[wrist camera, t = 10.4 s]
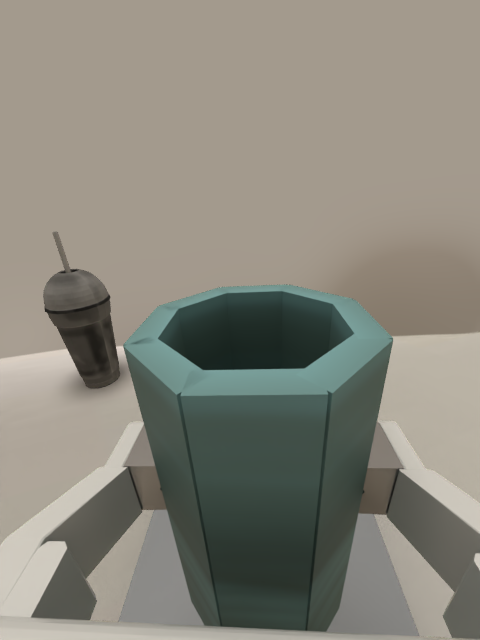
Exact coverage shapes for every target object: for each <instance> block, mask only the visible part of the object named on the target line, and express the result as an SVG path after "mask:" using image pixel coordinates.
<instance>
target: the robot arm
mask: <svg viewBox="0 0 480 640" xmlns="http://www.w3.org/2000/svg"><path fill="white" fill-rule="evenodd" d="M142 510H167V508H166V504H165V501H164V497H163V493H162V489H161V486H160V482H159V478H158V474H157V471H156V467H155V463H154V459H153V456H152V452H151V448H150V444H149V441H148V437H147V433H146V429H145V426H144V422H133V421H132V422H131V423H130V424H128V425H127V427H126V429H125V431H124V432H123V434H122V436H121V438H120V440H119V441H118V443H117V445H116V447H115V448H114V450H113V452H112V454H111V455H110V457H109V459H108V461H107V462H106V464H105V466H104V467H98V468H97V469H96V470H94V471H93V472H92V473H91V474H89V475H88V476H87V477H85V478H84V479H83V480H81V481H80V482H79V483H77V484H76V485H75V486H73V487H72V488H71V489H70V490H68V491H67V492H66V493H64V494H63V495H62V496H60V497H59V498H58V499H56V500H55V501H54V502H52V503H51V504H50V505H49V506H47V507H46V508H45V509H43V510H42V511H41V512H39V513H38V514H37V515H35V516H34V517H33V518H31V519H30V520H29V521H27V522H26V523H25V524H24V525H22V526H21V527H20V528H18V529H17V530H16V531H14V532H13V533H12V534H10V535H9V536H8V537H6V539H5V540H4V541H3V543H2V544H1V545H0V640H480V503H479V502H478V501H476V500H475V499H474V498H472V497H471V496H469V495H468V494H466V493H465V492H464V491H462V490H461V489H459V488H458V487H456V486H455V485H454V484H452V483H451V482H449V481H448V480H447V479H445V478H444V477H442V476H441V475H439V474H438V473H437V472H435V471H434V470H427V469H426V467H425V466H424V464H423V463H422V461H421V460H420V458H419V457H418V455H417V453H416V452H415V450H414V449H413V447H412V446H411V444H410V443H409V441H408V439H407V438H406V436H405V435H404V433H403V432H402V430H401V429H400V427H399V425H398V424H397V423H396V422H395V421H377V423H376V428H375V433H374V438H373V443H372V448H371V453H370V458H369V463H368V468H367V473H366V478H365V483H364V488H363V493H362V498H361V503H360V508H359V513H360V514H381V515H387V518H388V519H389V520H390V521H391V522H392V523H393V524H394V525H395V526H396V528H397V529H398V530H399V531H400V532H401V533H402V534H403V535H404V536H405V537H406V539H407V540H408V541H409V542H410V543H411V544H412V545H413V546H414V547H415V549H416V550H417V551H418V552H419V553H420V554H421V555H422V556H423V557H424V559H425V560H426V561H427V562H428V563H429V564H430V565H431V566H432V567H433V569H434V570H435V571H436V572H437V573H438V574H439V575H440V576H441V577H442V579H443V580H444V581H445V582H446V583H447V584H448V585H449V586H450V587H451V589H452V590H453V591H454V592H455V593H454V595H453V596H452V598H451V600H450V602H449V604H448V606H447V608H446V610H445V612H444V615H443V618H444V620H445V622H446V625H447V627H448V629H449V631H450V634H451V636H452V638H442V637H422V636H402V635H381V634H361V633H341V632H321V631H300V630H280V629H259V628H239V627H218V626H198V625H178V624H157V623H137V622H116V621H96V620H90V618H91V615H92V613H93V610H94V607H95V605H96V602H97V600H96V596H95V594H94V592H93V590H92V588H91V587H90V585H89V583H88V581H87V580H86V578H87V577H88V576H89V574H90V573H91V572H92V571H93V570H94V568H95V567H96V566H97V565H98V564H99V563H100V561H101V560H102V559H103V558H104V557H105V555H106V554H107V553H108V552H109V551H110V549H111V548H112V547H113V546H114V545H115V544H116V542H117V541H118V540H119V539H120V538H121V536H122V535H123V534H124V533H125V532H126V531H127V529H128V528H129V527H130V526H131V525H132V523H133V522H134V521H135V520H136V519H137V517H138V516H139V515H140V514H141V513H142Z"/></svg>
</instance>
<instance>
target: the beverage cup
mask: <svg viewBox="0 0 480 640" xmlns="http://www.w3.org/2000/svg"><path fill="white" fill-rule="evenodd" d="M53 236H54V239H55V242H56V245H57V248H58V251H59V254H60V256H61V260H62V262H63V265H64V268H65V270H64V271H61V272H58V273H57V274H55V275H54V276H53V277H52V278H50V280H49V281H48V282H47V284H46V286H45V289H44V294H43V297H44V304H45V312H47V313H48V315H49V318H50V319H51V321H52V322H53V324H54V325H55V326H56V327H57V329H58V331H59V333H60V335H61V337H62V339H63V341H64V343H65V345H66V347H67V349H68V351H69V353H70V355H71V357H72V359H73V361H74V363H75V365H76V367H77V369H78V371H79V374H80V376H81V377H82V378H83V380H84V382H85V384H86V386H87V387H89V388H100V387H104V386H107V385H109V384H111V383H113V382H114V381H116V380H117V379H118V377H119V376H120V372H119V362H118V356H117V350H116V345H115V339H114V333H113V327H112V322H111V316H110V312H111V308H110V295H109V294H108V292H107V290H106V288H105V286H104V285H103V283H102V282H101V281H100V280H99V279H98V278H97V277H96V276H94V275H93V274H91V273H89V272H87V271H84V270H79V269H70V267H69V264H68V261H67V259H66V255H65V252H64V249H63V246H62V244H61V241H60V237H59V235H58V232H53Z"/></svg>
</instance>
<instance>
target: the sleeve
mask: <svg viewBox="0 0 480 640" xmlns="http://www.w3.org/2000/svg"><path fill="white" fill-rule="evenodd" d="M392 343H393V338H392V337H391V336H390V335H389V334H388V333H387V332H386V331H385V330H384V329H383V328H382V327H381V326H380V324H379V323H378V322H376V321H375V319H374V318H373V317H372V316H371V315H370V314H369V313H368V312H367V311H366V310H364V308H363V307H362V306H361V305H360V304H359V303H358V302H357V301H356V300H353V299H351V298H346V297H341V296H338V295H333V294H328V293H324V292H319V291H315V290H311V289H306V288H302V287H298V286H293V285H263V286H237V287H221V288H220V287H219V288H216V289H213V290H209V291H206V292H203V293H200V294H196V295H193V296H190V297H186V298H183V299H180V300H177V301H173V302H170V303H167V304H163V305H160V306H159V307H157V308H156V309H155V310H154V311H153V312H152V313H151V315H150V316H149V317H148V318H147V319H146V320H145V321H144V322H143V323H142V325H141V326H140V327H139V328H138V329H137V330H136V331H135V332H134V334H133V335H132V336H131V337H130V338H129V339H128V340H127V341H126V342H125V343H124V346H123V347H124V351H125V354H126V358H127V362H128V366H129V369H130V373H131V377H132V381H133V384H134V388H135V392H136V396H137V399H138V403H139V407H140V411H141V414H142V418H143V422H144V426H145V429H146V433H147V437H148V441H149V444H150V448H151V452H152V456H153V459H154V463H155V467H156V471H157V474H158V478H159V482H160V486H161V489H162V493H163V497H164V501H165V504H166V508H167V512H168V516H169V519H170V523H171V527H172V531H173V534H174V538H175V542H176V546H177V549H178V553H179V557H180V561H181V564H182V568H183V572H184V576H185V579H186V583H187V587H188V591H189V594H190V598H191V602H192V603H193V605H194V607H195V609H196V611H197V613H198V614H199V616H200V618H201V620H202V622H203V624H204V625H205V626H218V627H239V628H259V629H280V630H300V631H321V632H326V631H327V629H328V628H329V626H330V624H331V622H332V620H333V619H334V617H335V615H336V613H337V611H338V610H339V608H340V603H341V598H342V593H343V588H344V583H345V578H346V573H347V568H348V563H349V558H350V553H351V548H352V543H353V538H354V533H355V528H356V523H357V518H358V513H359V508H360V503H361V498H362V493H363V488H364V483H365V478H366V473H367V468H368V463H369V458H370V453H371V448H372V443H373V438H374V433H375V428H376V423H377V418H378V413H379V408H380V403H381V398H382V393H383V388H384V383H385V378H386V373H387V368H388V363H389V358H390V353H391V348H392Z"/></svg>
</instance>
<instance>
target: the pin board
mask: <svg viewBox="0 0 480 640" xmlns="http://www.w3.org/2000/svg"><path fill="white" fill-rule="evenodd" d="M118 622H137V623H157V624H178V625H198V626H205V625H204V624H203V622H202V620H201V618H200V616H199V614H198V613H197V611H196V609H195V607H194V605H193V603H192V602H191V598H190V594H189V591H188V587H187V583H186V579H185V576H184V572H183V568H182V564H181V561H180V557H179V553H178V549H177V546H176V542H175V538H174V534H173V531H172V527H171V523H170V519H169V516H168V512H167V510H154V512H153V515H152V518H151V521H150V524H149V527H148V531H147V534H146V537H145V540H144V543H143V546H142V549H141V552H140V556H139V559H138V562H137V565H136V568H135V571H134V574H133V577H132V580H131V584H130V587H129V590H128V593H127V596H126V599H125V602H124V605H123V609H122V612H121V615H120V618H119V621H118ZM326 632H341V633H361V634H381V635H402V636H419V633H418V631H417V628H416V625H415V623H414V620H413V617H412V615H411V612H410V609H409V607H408V604H407V601H406V599H405V596H404V594H403V591H402V588H401V586H400V583H399V580H398V578H397V575H396V572H395V570H394V567H393V564H392V562H391V559H390V556H389V554H388V551H387V548H386V546H385V543H384V541H383V538H382V535H381V533H380V530H379V527H378V525H377V522H376V519H375V517H374V514H360V513H358V518H357V523H356V528H355V533H354V538H353V543H352V548H351V553H350V558H349V563H348V568H347V573H346V578H345V583H344V588H343V593H342V598H341V603H340V608H339V610H338V611H337V613H336V615H335V617H334V619H333V620H332V622H331V624H330V626H329V628H328V629H327V631H326Z"/></svg>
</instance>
